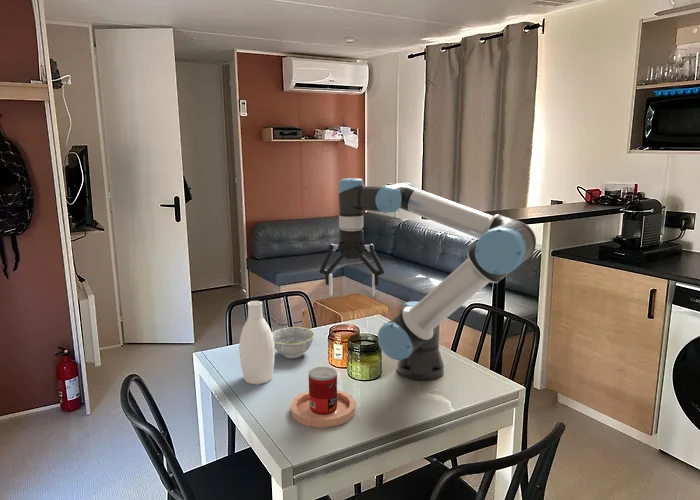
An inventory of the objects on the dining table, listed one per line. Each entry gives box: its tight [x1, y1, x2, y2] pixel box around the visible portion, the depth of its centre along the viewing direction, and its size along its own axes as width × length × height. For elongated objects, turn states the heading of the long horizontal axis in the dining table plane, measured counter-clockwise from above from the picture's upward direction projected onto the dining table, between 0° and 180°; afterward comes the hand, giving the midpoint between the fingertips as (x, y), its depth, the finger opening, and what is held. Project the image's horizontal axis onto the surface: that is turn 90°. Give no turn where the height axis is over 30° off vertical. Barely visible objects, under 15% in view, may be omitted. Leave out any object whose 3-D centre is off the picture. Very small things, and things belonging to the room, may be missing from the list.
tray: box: [290, 389, 357, 429], centre depth 151 cm, size 18×18×2 cm
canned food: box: [308, 366, 338, 415], centre depth 150 cm, size 8×8×11 cm
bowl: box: [271, 326, 315, 359], centre depth 190 cm, size 16×16×8 cm
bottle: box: [238, 300, 275, 385], centre depth 170 cm, size 11×11×25 cm
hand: (352, 295), depth 170 cm, fingers open, 13 cm apart
